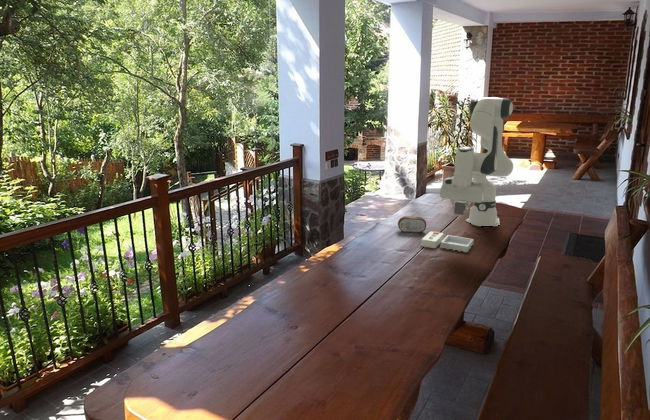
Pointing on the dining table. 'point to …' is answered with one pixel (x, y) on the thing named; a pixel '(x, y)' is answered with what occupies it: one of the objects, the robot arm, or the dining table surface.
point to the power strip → (432, 239)
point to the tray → (456, 243)
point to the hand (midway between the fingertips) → (460, 209)
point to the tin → (412, 224)
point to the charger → (459, 208)
